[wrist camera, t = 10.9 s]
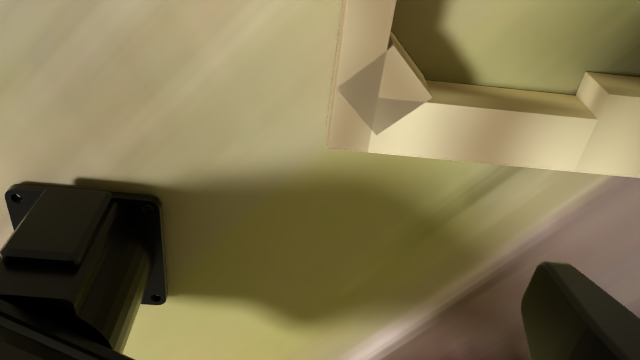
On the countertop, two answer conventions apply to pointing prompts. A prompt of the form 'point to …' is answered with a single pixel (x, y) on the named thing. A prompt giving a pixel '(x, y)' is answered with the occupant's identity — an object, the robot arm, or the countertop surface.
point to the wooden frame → (472, 109)
